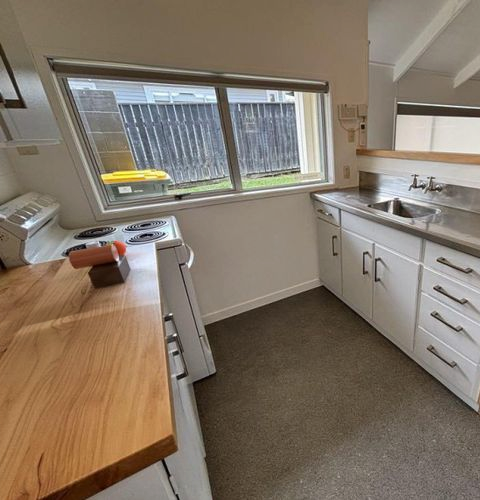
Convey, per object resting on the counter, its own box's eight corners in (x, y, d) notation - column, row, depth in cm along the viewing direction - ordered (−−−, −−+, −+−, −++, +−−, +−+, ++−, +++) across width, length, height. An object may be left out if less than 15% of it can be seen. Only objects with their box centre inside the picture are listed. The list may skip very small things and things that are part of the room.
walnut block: (94, 289, 92) (87, 272, 90) (104, 274, 102) (97, 259, 99) (124, 282, 95) (118, 266, 93) (130, 269, 105) (125, 254, 103)
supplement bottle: (90, 266, 109) (81, 245, 106) (94, 261, 113) (86, 242, 110) (105, 263, 111) (97, 243, 108) (109, 259, 115) (101, 239, 112)
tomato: (122, 260, 113) (116, 243, 111) (102, 262, 112) (95, 246, 109) (131, 252, 121) (125, 237, 118) (113, 255, 119) (106, 239, 116)
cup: (74, 271, 90) (66, 254, 88) (80, 265, 95) (73, 249, 93) (116, 263, 95) (109, 246, 93) (120, 258, 100) (114, 242, 98)
